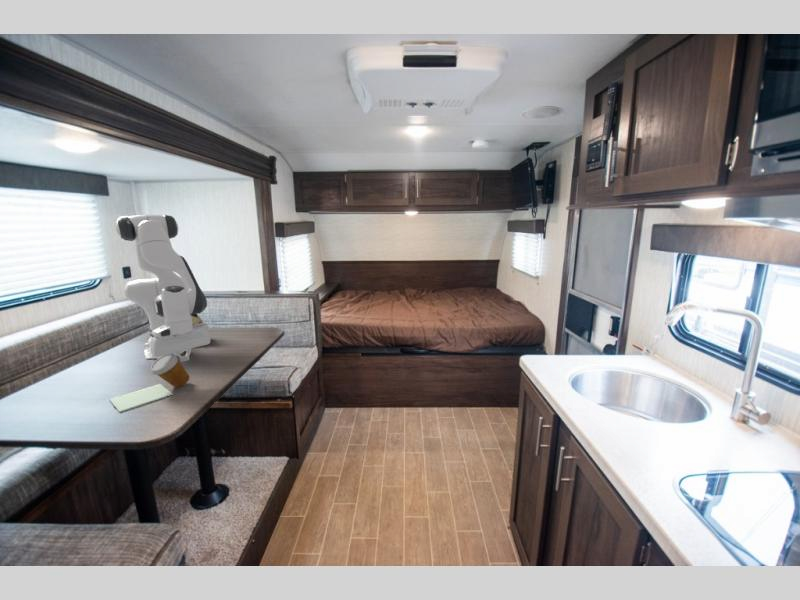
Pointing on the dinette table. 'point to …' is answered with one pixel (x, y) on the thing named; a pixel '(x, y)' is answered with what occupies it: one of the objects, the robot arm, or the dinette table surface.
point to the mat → (139, 397)
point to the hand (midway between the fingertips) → (184, 360)
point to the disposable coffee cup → (170, 370)
